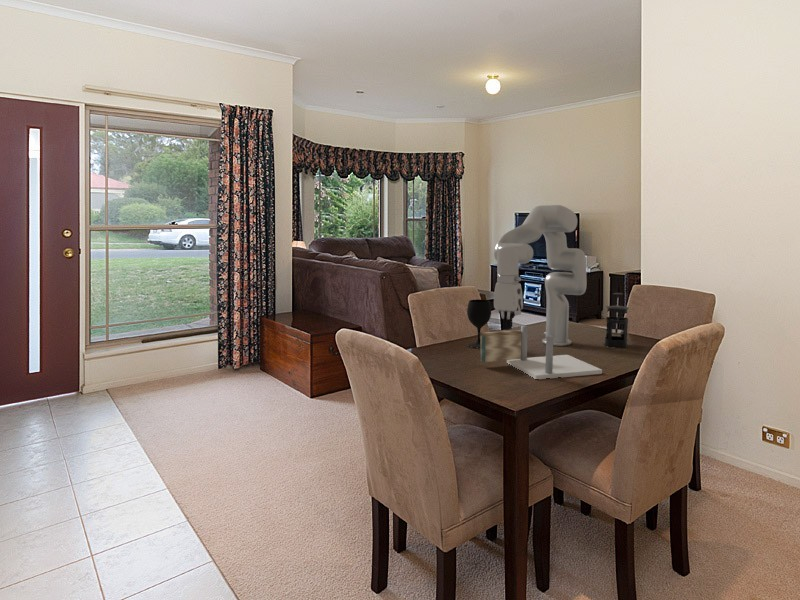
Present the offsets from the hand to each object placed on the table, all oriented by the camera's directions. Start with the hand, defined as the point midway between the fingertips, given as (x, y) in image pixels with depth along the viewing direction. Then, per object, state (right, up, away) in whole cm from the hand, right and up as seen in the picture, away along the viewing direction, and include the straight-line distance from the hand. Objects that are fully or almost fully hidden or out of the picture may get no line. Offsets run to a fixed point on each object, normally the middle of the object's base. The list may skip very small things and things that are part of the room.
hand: (507, 329), depth 202 cm
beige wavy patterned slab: (-1, -12, +7) cm, 14 cm away
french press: (+55, -9, +37) cm, 67 cm away
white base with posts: (+17, -15, +2) cm, 23 cm away
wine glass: (-5, -10, +40) cm, 41 cm away
